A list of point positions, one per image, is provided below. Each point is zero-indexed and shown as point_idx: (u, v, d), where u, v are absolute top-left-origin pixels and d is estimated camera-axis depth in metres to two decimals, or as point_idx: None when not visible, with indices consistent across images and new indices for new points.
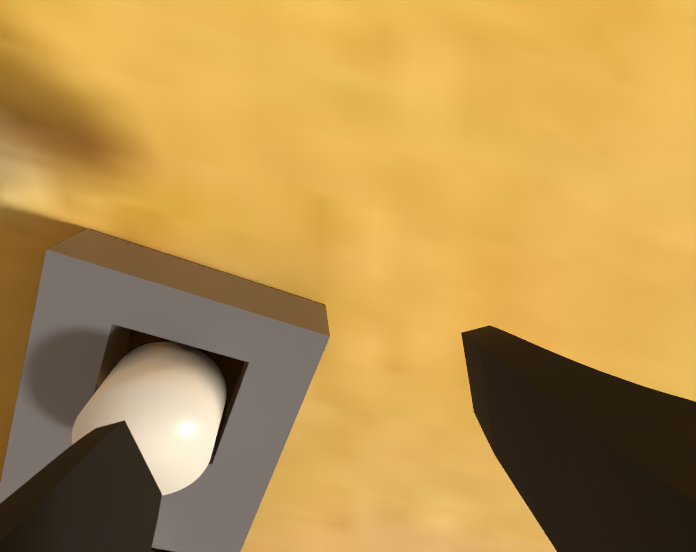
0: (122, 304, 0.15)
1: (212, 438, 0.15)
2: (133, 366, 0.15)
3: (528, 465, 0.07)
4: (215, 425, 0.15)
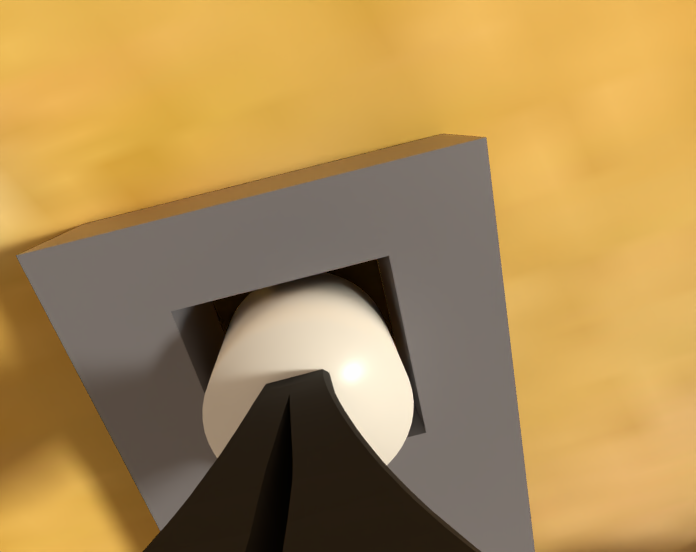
0: (164, 274, 0.09)
1: (396, 357, 0.09)
2: (236, 326, 0.10)
3: None
4: (389, 341, 0.10)
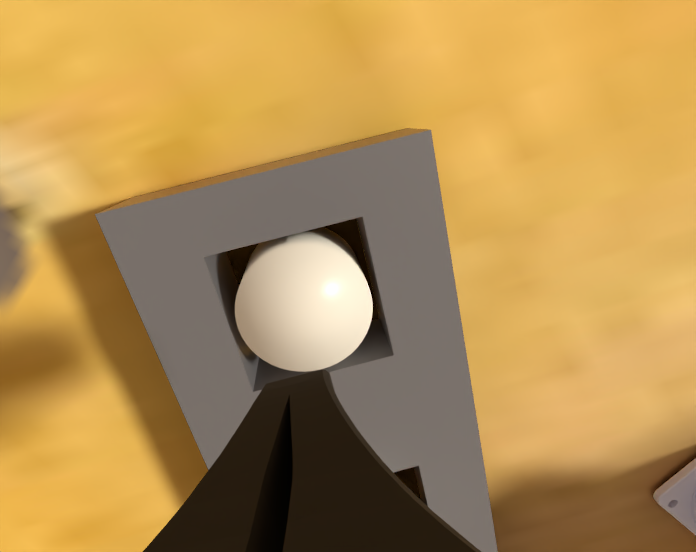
0: (199, 229, 0.13)
1: (360, 272, 0.14)
2: (255, 255, 0.15)
3: None
4: (357, 264, 0.14)
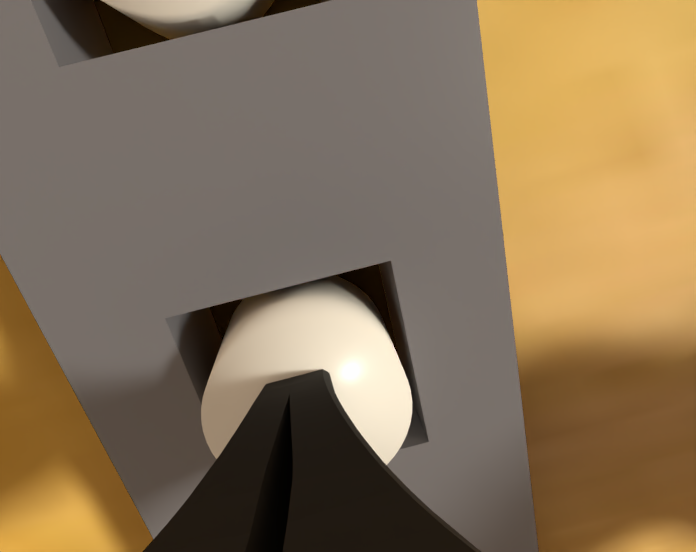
0: None
1: None
2: None
3: None
4: None
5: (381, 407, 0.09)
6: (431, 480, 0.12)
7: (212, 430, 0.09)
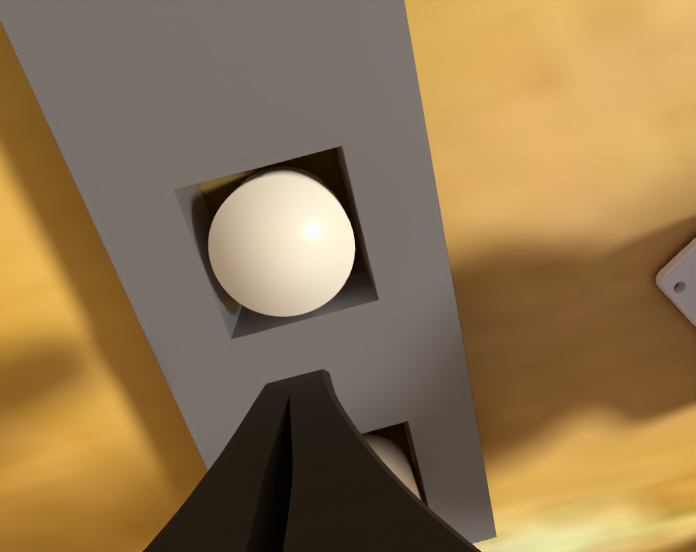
0: None
1: None
2: None
3: None
4: None
5: (332, 244, 0.13)
6: (382, 334, 0.15)
7: (216, 259, 0.13)
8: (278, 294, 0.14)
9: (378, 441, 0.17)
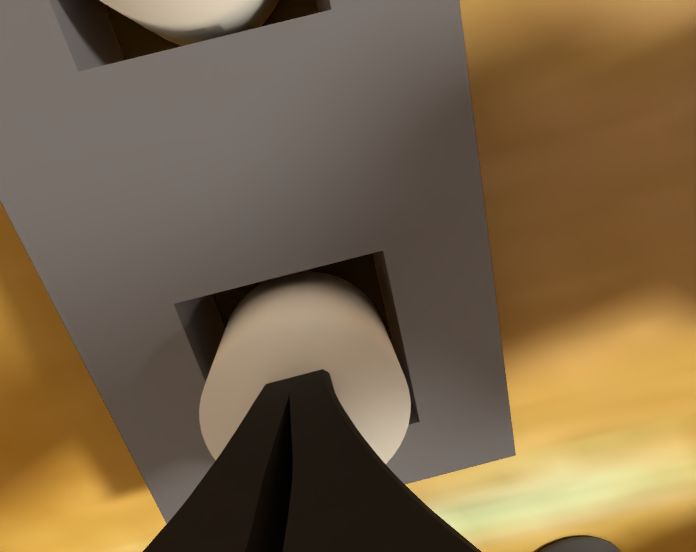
0: None
1: None
2: None
3: None
4: None
5: None
6: (339, 80, 0.09)
7: None
8: None
9: (336, 280, 0.11)
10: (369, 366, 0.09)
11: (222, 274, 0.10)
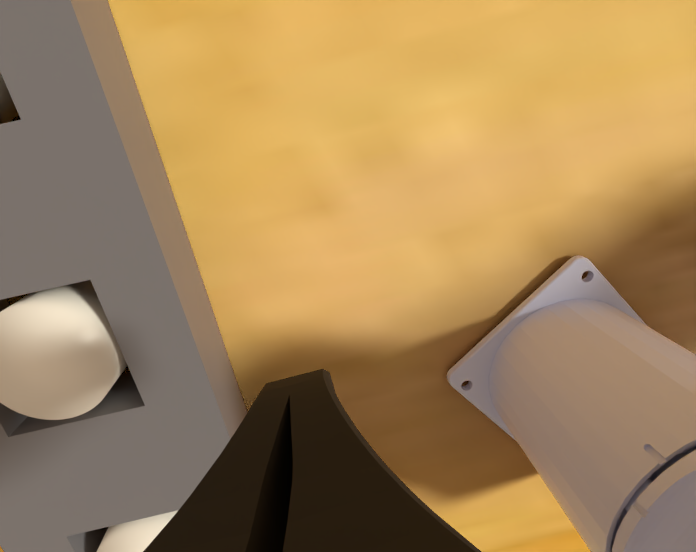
0: None
1: None
2: None
3: None
4: None
5: (91, 361, 0.15)
6: (153, 434, 0.16)
7: None
8: (45, 401, 0.15)
9: None
10: None
11: (94, 521, 0.17)
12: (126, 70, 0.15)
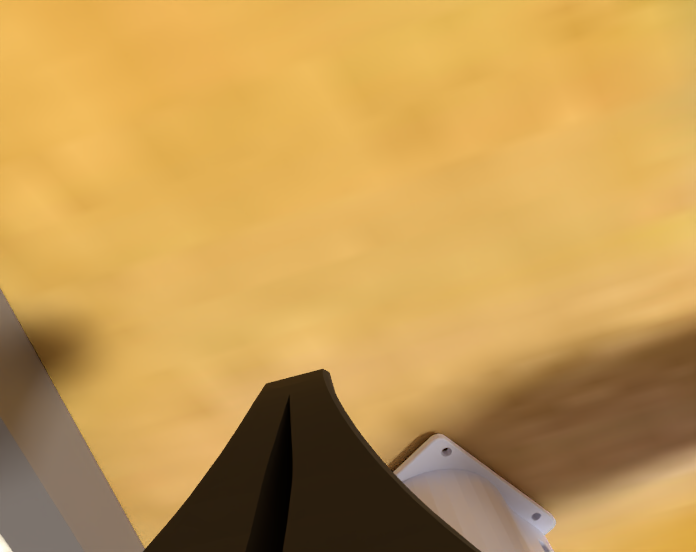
0: None
1: None
2: None
3: None
4: None
5: None
6: None
7: None
8: None
9: None
10: None
11: None
12: (14, 331, 0.17)
